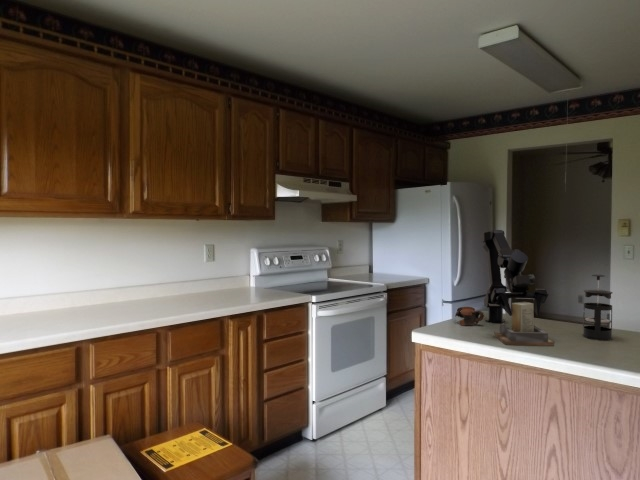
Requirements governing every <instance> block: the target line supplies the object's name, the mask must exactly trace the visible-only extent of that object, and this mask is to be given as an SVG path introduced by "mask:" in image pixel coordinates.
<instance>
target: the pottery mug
mask: <svg viewBox="0 0 640 480" xmlns="http://www.w3.org/2000/svg"><path fill="white" fill-rule="evenodd" d="M454 317H458V318H461V319H460V320H459V325H460V326H470V327H471V326H472V327H475V324H477V325H478V324H479V322H482V320H483V319H484V317H485V314H484V312H483V311H481V310H476V309H475V308H474V307H472V306H461V307H458V308H457V309H456V313H455V316H454Z"/></svg>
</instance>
